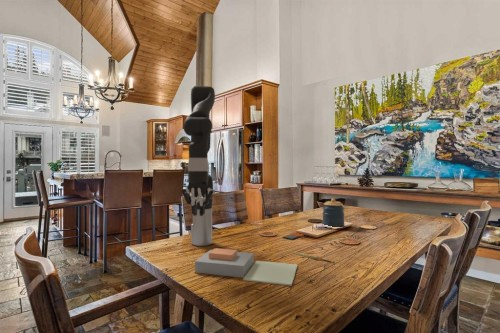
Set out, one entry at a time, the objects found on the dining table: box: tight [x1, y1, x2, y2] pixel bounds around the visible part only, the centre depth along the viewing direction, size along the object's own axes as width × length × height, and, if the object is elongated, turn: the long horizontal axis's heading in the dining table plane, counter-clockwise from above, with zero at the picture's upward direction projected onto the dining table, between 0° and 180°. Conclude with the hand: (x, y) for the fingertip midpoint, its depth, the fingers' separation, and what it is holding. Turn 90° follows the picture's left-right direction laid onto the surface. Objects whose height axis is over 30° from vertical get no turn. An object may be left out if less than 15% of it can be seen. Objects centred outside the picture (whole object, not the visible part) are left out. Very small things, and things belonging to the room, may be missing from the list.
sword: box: [284, 249, 335, 264], centre depth 117 cm, size 25×4×1 cm, turn 46°
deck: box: [194, 249, 255, 279], centre depth 104 cm, size 18×14×4 cm
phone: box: [282, 231, 305, 241], centre depth 149 cm, size 6×1×15 cm
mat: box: [242, 260, 298, 287], centre depth 99 cm, size 16×18×1 cm
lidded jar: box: [321, 197, 345, 228], centre depth 170 cm, size 13×13×18 cm
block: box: [209, 247, 238, 261], centre depth 104 cm, size 9×6×2 cm, turn 75°
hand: (198, 215), depth 107 cm, fingers closed
